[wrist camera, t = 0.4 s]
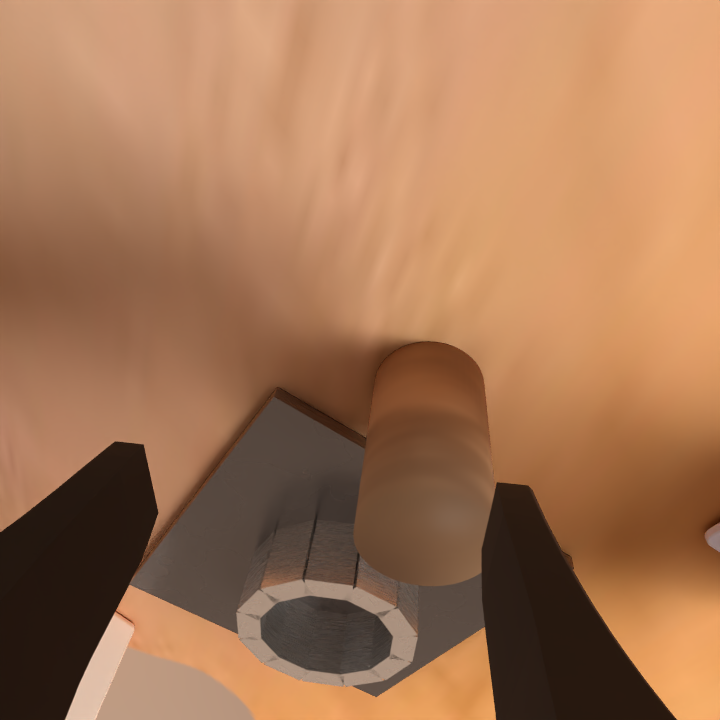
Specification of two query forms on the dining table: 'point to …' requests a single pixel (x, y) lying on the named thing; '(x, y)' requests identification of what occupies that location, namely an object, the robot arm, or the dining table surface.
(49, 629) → the robot arm
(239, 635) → the socket
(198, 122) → the dining table surface
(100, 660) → the medicine bottle
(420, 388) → the peg
